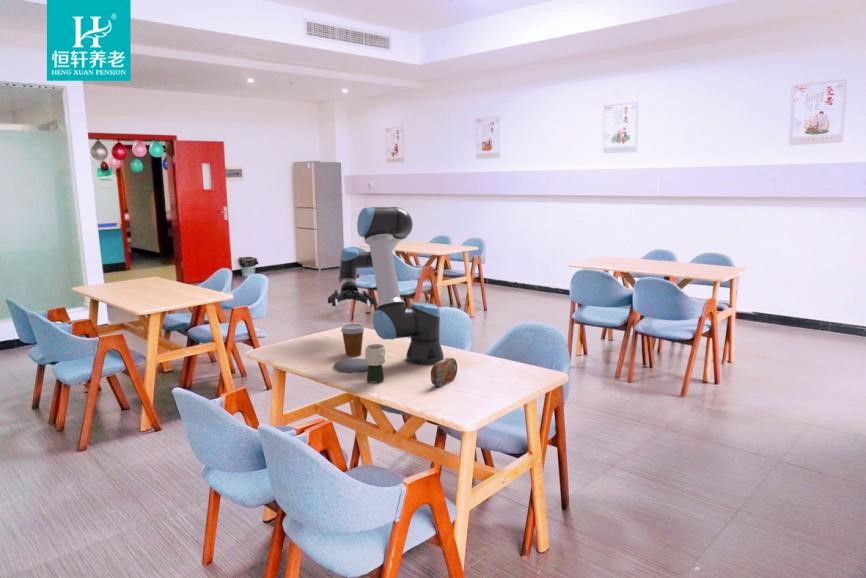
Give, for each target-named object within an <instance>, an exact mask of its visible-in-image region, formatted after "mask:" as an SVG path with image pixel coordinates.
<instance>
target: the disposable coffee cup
mask: <svg viewBox="0 0 866 578" xmlns="http://www.w3.org/2000/svg"><path fill="white" fill-rule="evenodd" d="M364 330H365V328H364V325H362V324H357V323H351V324H349V323H348V324H345V325H342V327H341V330H340V331H341V333H342V338H343V344H344V345H343V346H344V350H345V356H347V357H358V356H361V355H362V349H363V340H364Z"/></svg>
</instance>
